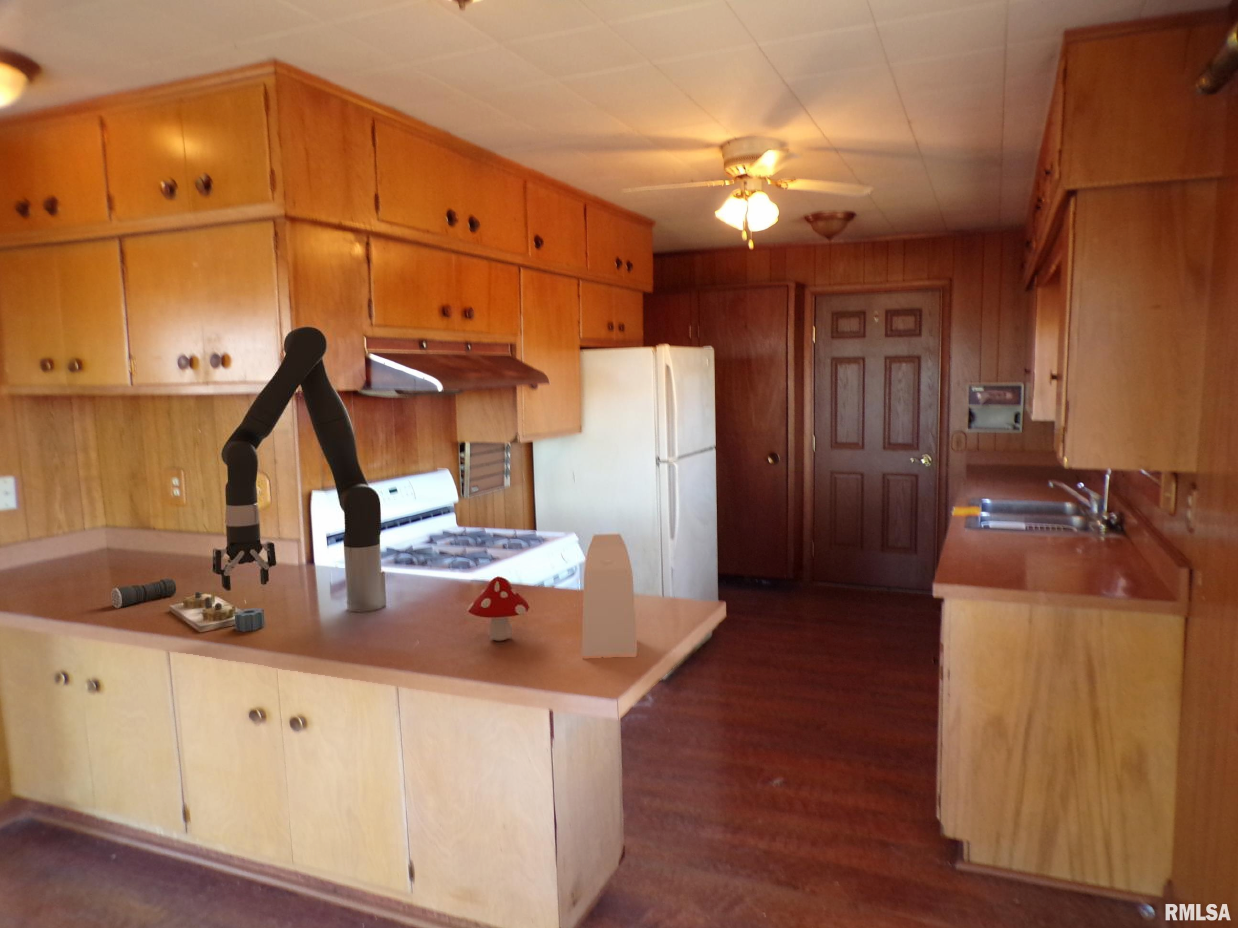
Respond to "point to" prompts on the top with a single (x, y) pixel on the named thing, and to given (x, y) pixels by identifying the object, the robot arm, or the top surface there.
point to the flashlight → (142, 592)
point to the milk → (608, 598)
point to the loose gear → (249, 619)
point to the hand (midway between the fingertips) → (246, 586)
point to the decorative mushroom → (499, 607)
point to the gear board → (205, 612)
